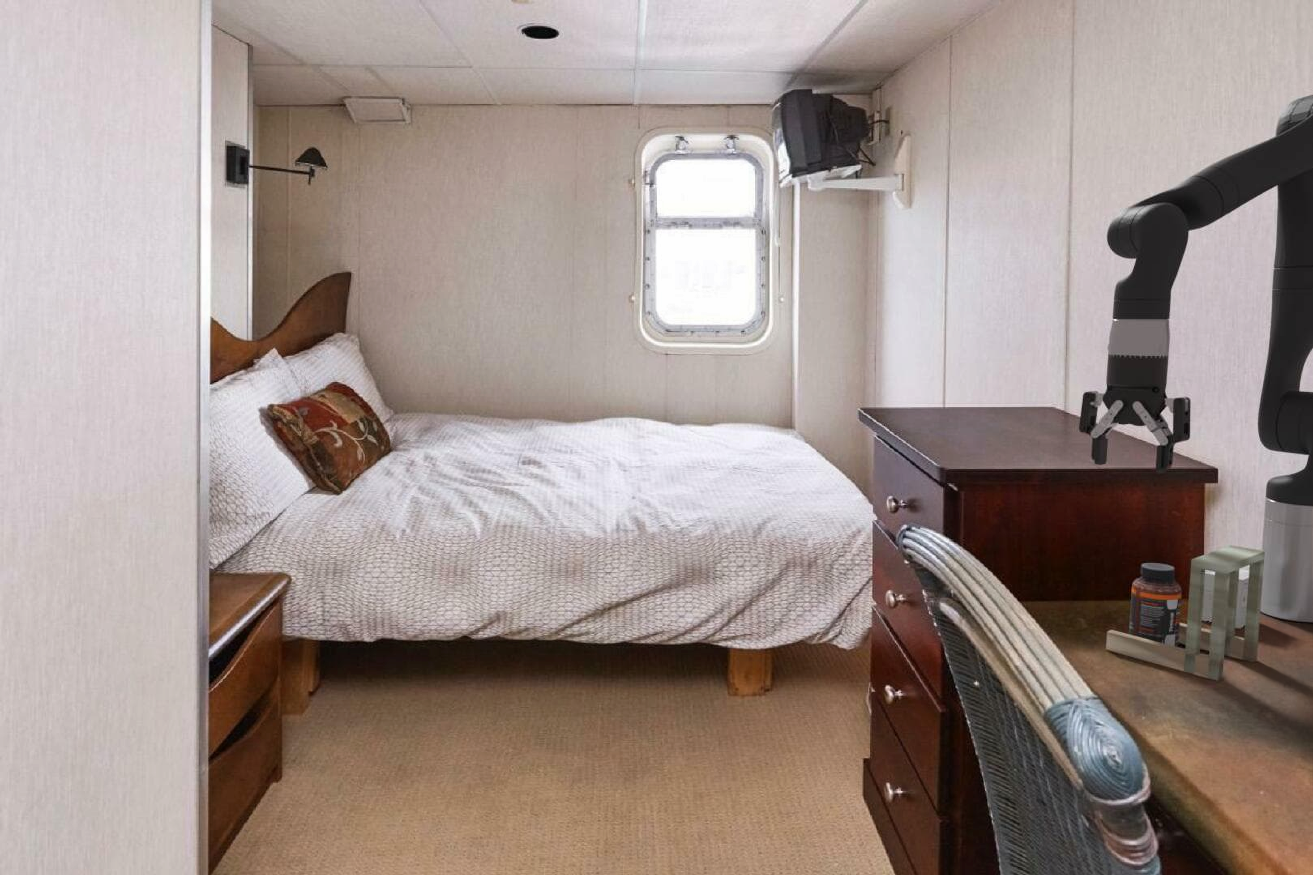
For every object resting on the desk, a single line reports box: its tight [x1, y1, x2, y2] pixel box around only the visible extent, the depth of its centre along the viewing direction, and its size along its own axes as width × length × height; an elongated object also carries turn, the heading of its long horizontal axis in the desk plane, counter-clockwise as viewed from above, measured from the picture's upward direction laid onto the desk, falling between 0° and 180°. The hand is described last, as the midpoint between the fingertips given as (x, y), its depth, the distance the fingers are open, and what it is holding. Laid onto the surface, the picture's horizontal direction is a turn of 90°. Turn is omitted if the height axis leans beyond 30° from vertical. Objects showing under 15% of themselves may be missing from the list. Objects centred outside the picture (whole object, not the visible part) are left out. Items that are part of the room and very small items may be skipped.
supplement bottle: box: [1128, 562, 1183, 647], centre depth 127 cm, size 6×6×11 cm
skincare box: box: [1202, 568, 1249, 629], centre depth 138 cm, size 6×6×7 cm
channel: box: [1105, 545, 1265, 682], centre depth 124 cm, size 11×14×14 cm
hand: (1129, 467), depth 133 cm, fingers open, 8 cm apart
